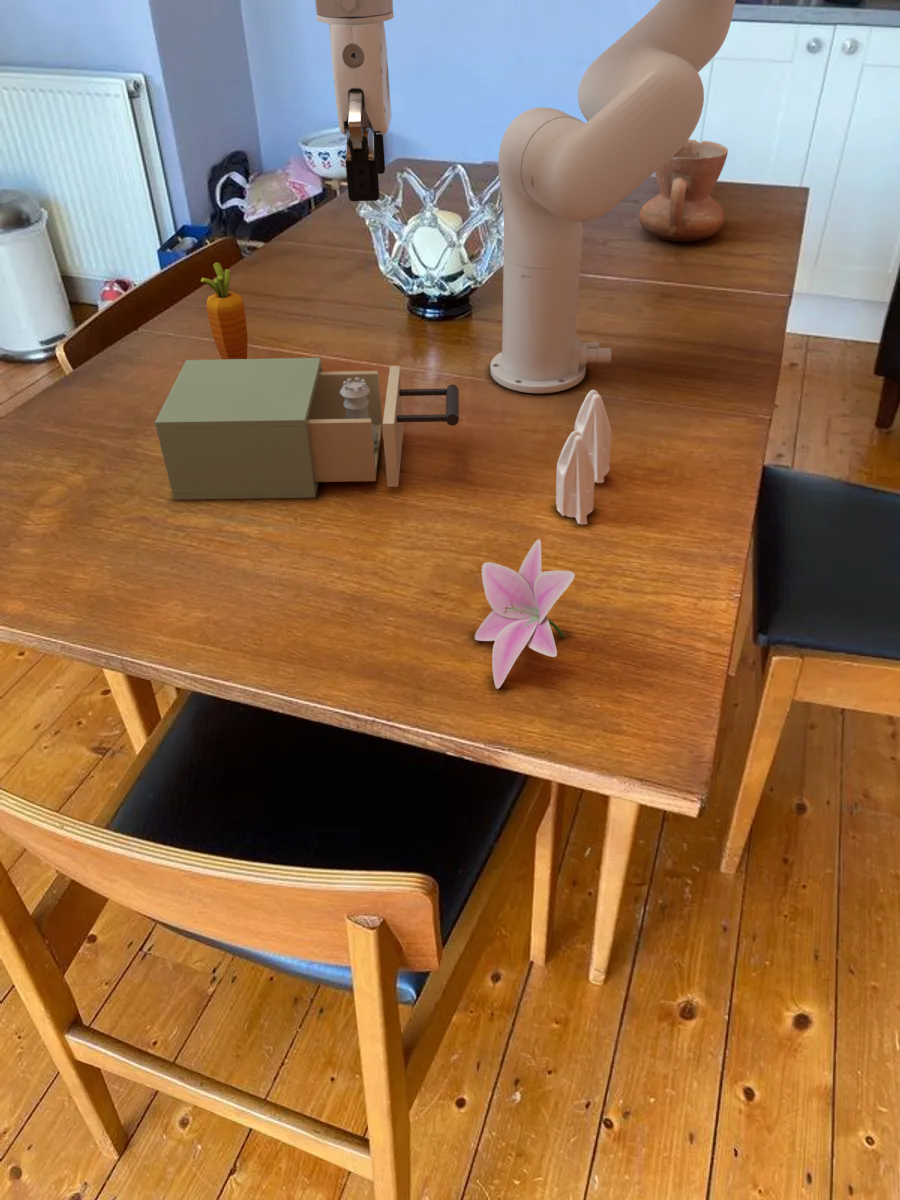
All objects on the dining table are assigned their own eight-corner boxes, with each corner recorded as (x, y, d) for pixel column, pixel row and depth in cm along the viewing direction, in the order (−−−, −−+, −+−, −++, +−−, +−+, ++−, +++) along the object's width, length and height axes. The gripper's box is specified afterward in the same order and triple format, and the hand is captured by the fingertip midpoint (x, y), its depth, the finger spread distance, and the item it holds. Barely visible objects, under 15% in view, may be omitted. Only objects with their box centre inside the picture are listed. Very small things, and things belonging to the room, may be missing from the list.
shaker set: (578, 462, 107) (584, 372, 100) (614, 468, 106) (623, 378, 99) (548, 518, 98) (553, 425, 91) (586, 526, 97) (595, 432, 90)
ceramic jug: (649, 215, 172) (659, 132, 163) (729, 224, 168) (743, 138, 159) (624, 248, 160) (633, 159, 151) (709, 258, 155) (724, 167, 146)
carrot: (249, 387, 123) (229, 274, 113) (213, 385, 124) (191, 272, 114) (262, 370, 127) (244, 260, 117) (228, 368, 127) (207, 258, 118)
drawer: (459, 425, 112) (458, 364, 107) (459, 485, 102) (458, 422, 97) (283, 427, 113) (274, 367, 108) (266, 488, 102) (255, 425, 97)
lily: (489, 600, 90) (445, 547, 83) (607, 572, 85) (571, 513, 78) (489, 714, 83) (441, 667, 76) (616, 690, 79) (578, 638, 72)
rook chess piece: (333, 453, 106) (326, 388, 101) (351, 434, 109) (345, 370, 104) (369, 460, 104) (363, 395, 99) (386, 441, 108) (381, 377, 102)
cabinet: (329, 431, 114) (320, 357, 108) (315, 497, 102) (304, 419, 96) (201, 433, 114) (186, 359, 108) (173, 499, 103) (154, 422, 97)
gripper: (387, 14, 84) (398, 211, 95) (397, -12, 98) (405, 163, 108) (304, 16, 84) (324, 212, 95) (325, -10, 98) (341, 164, 109)
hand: (367, 186), depth 102 cm, fingers open, 9 cm apart
